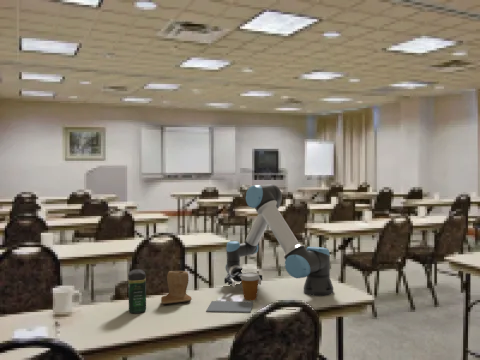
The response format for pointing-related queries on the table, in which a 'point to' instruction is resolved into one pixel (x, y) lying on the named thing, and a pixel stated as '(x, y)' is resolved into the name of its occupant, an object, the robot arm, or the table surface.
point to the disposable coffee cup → (250, 285)
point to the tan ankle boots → (176, 287)
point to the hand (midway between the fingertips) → (247, 283)
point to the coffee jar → (137, 291)
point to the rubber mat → (230, 306)
